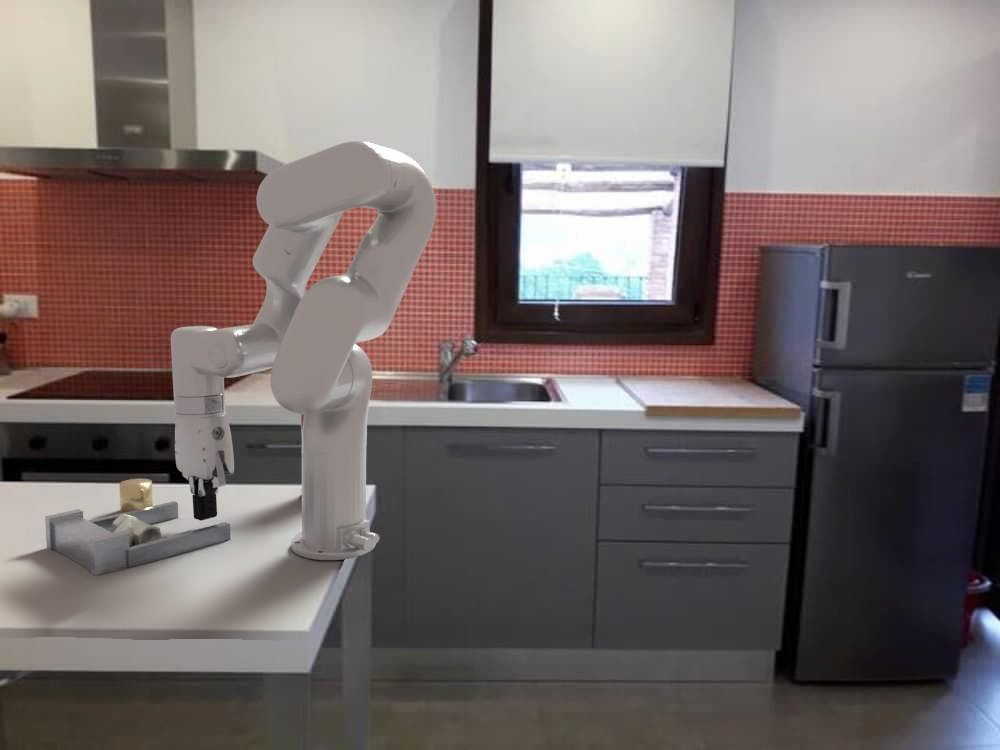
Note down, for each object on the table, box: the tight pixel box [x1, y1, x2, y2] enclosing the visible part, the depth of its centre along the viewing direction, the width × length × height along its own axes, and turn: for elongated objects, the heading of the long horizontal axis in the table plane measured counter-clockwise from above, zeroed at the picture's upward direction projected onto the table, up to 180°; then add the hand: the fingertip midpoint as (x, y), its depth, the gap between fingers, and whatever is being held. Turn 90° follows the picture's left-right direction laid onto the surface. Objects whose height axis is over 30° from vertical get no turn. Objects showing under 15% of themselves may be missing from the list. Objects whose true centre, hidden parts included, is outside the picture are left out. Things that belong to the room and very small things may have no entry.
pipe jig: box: [44, 501, 231, 576], centre depth 123 cm, size 16×20×5 cm
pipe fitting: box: [112, 514, 162, 547], centre depth 122 cm, size 8×4×7 cm
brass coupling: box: [119, 478, 154, 513], centre depth 138 cm, size 5×5×5 cm
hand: (205, 517), depth 131 cm, fingers closed
